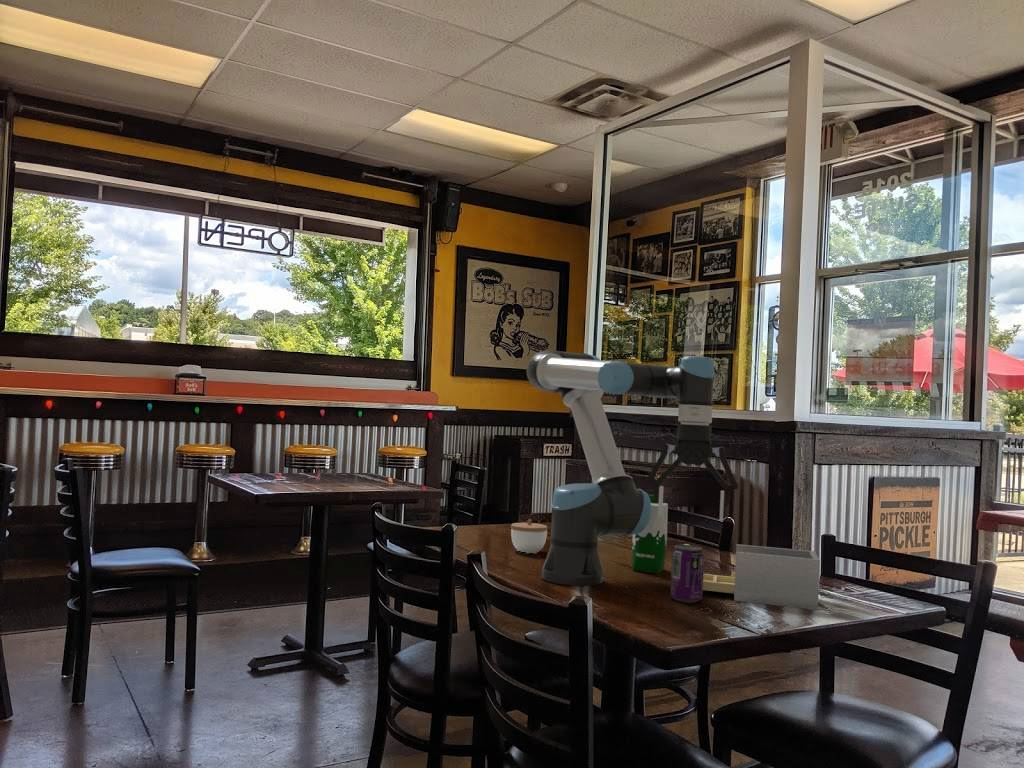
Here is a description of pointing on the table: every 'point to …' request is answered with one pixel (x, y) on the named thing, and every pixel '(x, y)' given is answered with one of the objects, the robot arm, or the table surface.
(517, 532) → the lidded jar
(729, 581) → the rack
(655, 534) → the milk carton
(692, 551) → the beverage can
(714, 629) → the table surface
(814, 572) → the grey open box
